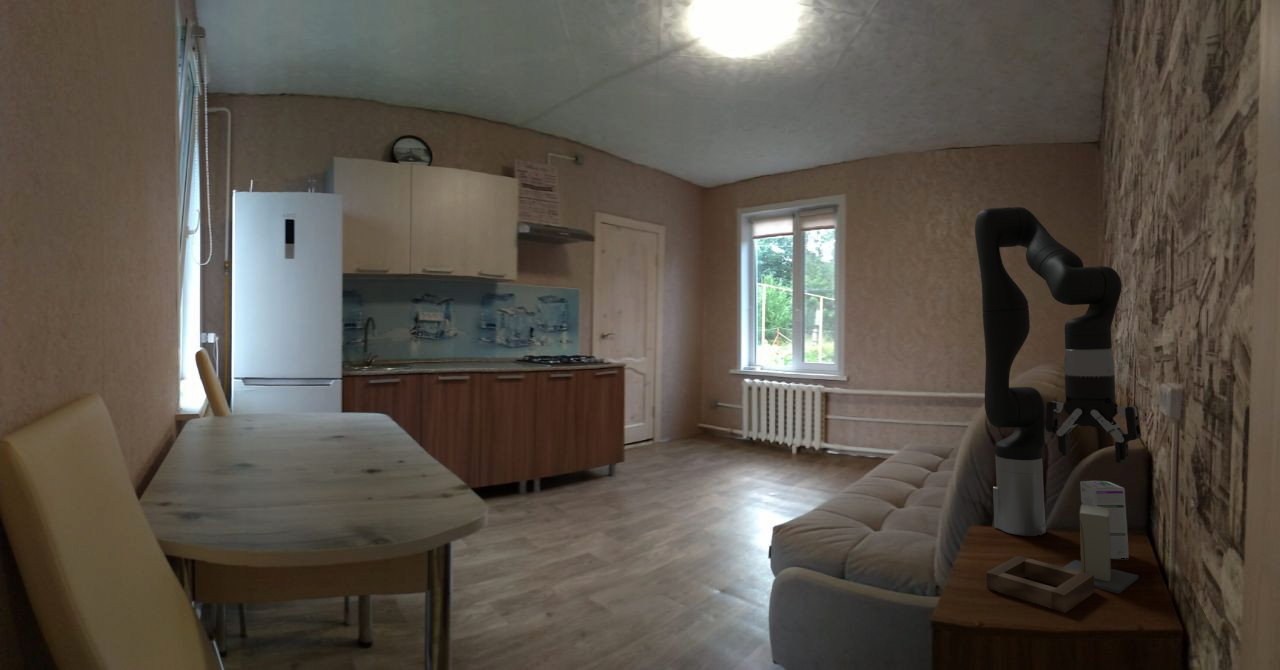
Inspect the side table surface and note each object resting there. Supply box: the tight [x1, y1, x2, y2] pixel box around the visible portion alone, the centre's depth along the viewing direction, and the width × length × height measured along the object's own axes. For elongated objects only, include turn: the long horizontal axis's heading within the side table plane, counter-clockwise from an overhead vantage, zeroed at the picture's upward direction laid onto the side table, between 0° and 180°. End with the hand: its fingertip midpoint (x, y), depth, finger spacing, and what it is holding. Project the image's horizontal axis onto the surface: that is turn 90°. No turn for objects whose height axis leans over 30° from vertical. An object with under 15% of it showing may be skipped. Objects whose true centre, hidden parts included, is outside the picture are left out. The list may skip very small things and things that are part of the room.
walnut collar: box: [985, 555, 1095, 614], centre depth 106 cm, size 12×12×3 cm
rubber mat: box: [1063, 559, 1139, 595], centre depth 111 cm, size 10×10×1 cm
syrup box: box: [1079, 480, 1130, 560], centre depth 121 cm, size 6×6×14 cm
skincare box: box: [1079, 504, 1112, 582], centre depth 111 cm, size 6×4×12 cm
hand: (1092, 458), depth 111 cm, fingers open, 8 cm apart
